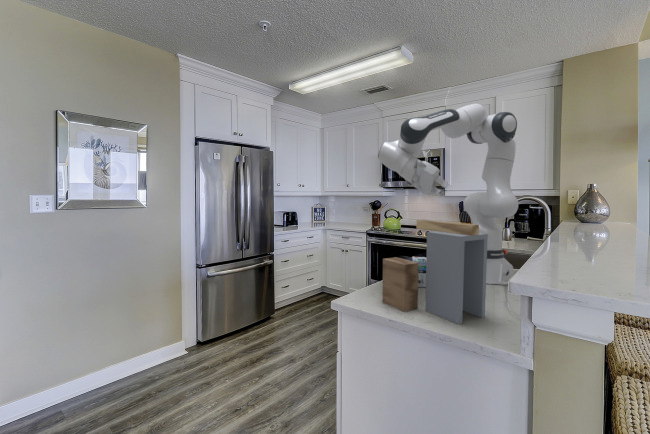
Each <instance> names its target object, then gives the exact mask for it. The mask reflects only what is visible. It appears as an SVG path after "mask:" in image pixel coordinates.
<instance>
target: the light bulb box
mask: <svg viewBox="0 0 650 434" xmlns="http://www.w3.org/2000/svg"><path fill="white" fill-rule="evenodd" d="M426 258H427V256H426V257H425V256H412V258H411V261H413V262H417V263H418V288H419V287H420V288H426Z"/></svg>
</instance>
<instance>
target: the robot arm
mask: <svg viewBox="0 0 650 434" xmlns="http://www.w3.org/2000/svg"><path fill="white" fill-rule="evenodd" d="M517 128H518V121H517V118H516V116H515V115H514V113H512V112H509V111H501V112H498V113H493V114H489V115H487V111H486V108H485V107H484V105H482V104H480V103H471V104H467V105H464V106H461V107H458V108H457V109H453V108H452V109H451V108H448V109H443V110H439V111H437V112H433V113H430V114H426V115H423V116H418V117H416V116H414V117H410V118H408V119H406V120H404V121H403V122H402V124H401V125H400V131H399V139H397V140H395V141H390V142H389V141H384V142H383V143H382V145H381V146H380V149H379V150H378V154H377V155H378V156H377V159H378V161H379V162H380V163H381V164H383V165H384V166H385V167H386V168H388V169H390V171H393V172H396V173H397V174H398V175H399V177H401V178H403V179H404V180H405V181H406V183H407V185H408V186H410V187H414V188H415V189H417V190H418V191H420V192H422V193H424V194H425V195H431V194H432V193H433V194H435V195H437V196H439V197H443V196H444V195H445V191H443V190H442V189H439V188H437V187H436V184H437V183H438V184H439V185H440V187H442V188H443V189H446V188H447V187H448V185H449V182H448V181H446V180H445V179H444V178H443V177H442V176H441V175H440V172H441V171H440V169H439V168H438V167H437V166H435V165H434V164H432V163H430V162H428V161H425V160H420V159H419V158H418V157H419V156H420V154H421V152H422V149H423V146H424V144H425V141H426V138H427V137H428V135H429V133H431V132H432V131H435V130H437V129H440V130H441V132H442V133H443V134H444V135H445V137H448V138H451V139H457V138H461V137H463V136H465V135H466V137H467V139H468V141H470V142H471V143H472V144H475V145H476V144H477V145H478V144H479V145H481V144H485V143H487V146H488V149H487V152H486V153H487V154H486V157H485V159H484V163H483V164H484V165H483V169H482V173H481V178H482V180H483V181H484V182H485V183H486V191H485V192H484V191H481V192H480V191H479V192H475V193H471V194H469V195H467V196H466V197H465V199H464V201H463V209H464V210H465V211H464V212H466V213H467V215H468V216H469V217H470V221H471V224H474V225H479V233H483V234H488V240H487V269H486V285H488V284H490V285H502V286H508V285H509V284H508V281H509V279H510V278H511V277H512V276H513V275H514V266H513V265H512V264H511V263H510V261H508V260H507V259H506V258H505V255H507V254H508V249H504V248H502V247H503V231H502V228H500V227H498V224H497V223H496V220H495V219H506V218H510V217H512V216H514V215H515V214H516V213H517V211H518V209H519V201H518V200H519V199H518V198H517V196H515V195H514V193H513V192H512V188H511V187H512V186H511V176H512V172H513V167H514V163H515V157H516V149H517V148H516V145H517V144H516V141H515V139H514V137H515V135H516V132H517Z"/></svg>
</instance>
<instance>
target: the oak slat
mask: <svg viewBox="0 0 650 434" xmlns="http://www.w3.org/2000/svg"><path fill="white" fill-rule="evenodd" d="M415 227H416V230H425V231H429V232H433V231H438V232H446V233H454V234H462V235H470V236H473V235H479V225H474V224H472V223H464V222H463V223H461V222H452V221H451V222H450V221H440V220H439V221H438V220H428V219H417V220H416V226H415Z"/></svg>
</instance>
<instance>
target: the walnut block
mask: <svg viewBox="0 0 650 434" xmlns="http://www.w3.org/2000/svg"><path fill="white" fill-rule="evenodd" d="M418 298H419V287H418V263H417V262H413V261H412V260H407V259H404V258H401V257H396V256H394V257H388V258H387V257H386V258H382V299H381V300H382V303H384V304H385V305H389V306H390V307H393V308H395V309H397V310H399V311H401V312H404V313H405V312H408V311H413V310H417V309H418V308H419V307H418V305H419V304H418V303H419V302H418V301H419V299H418Z"/></svg>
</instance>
